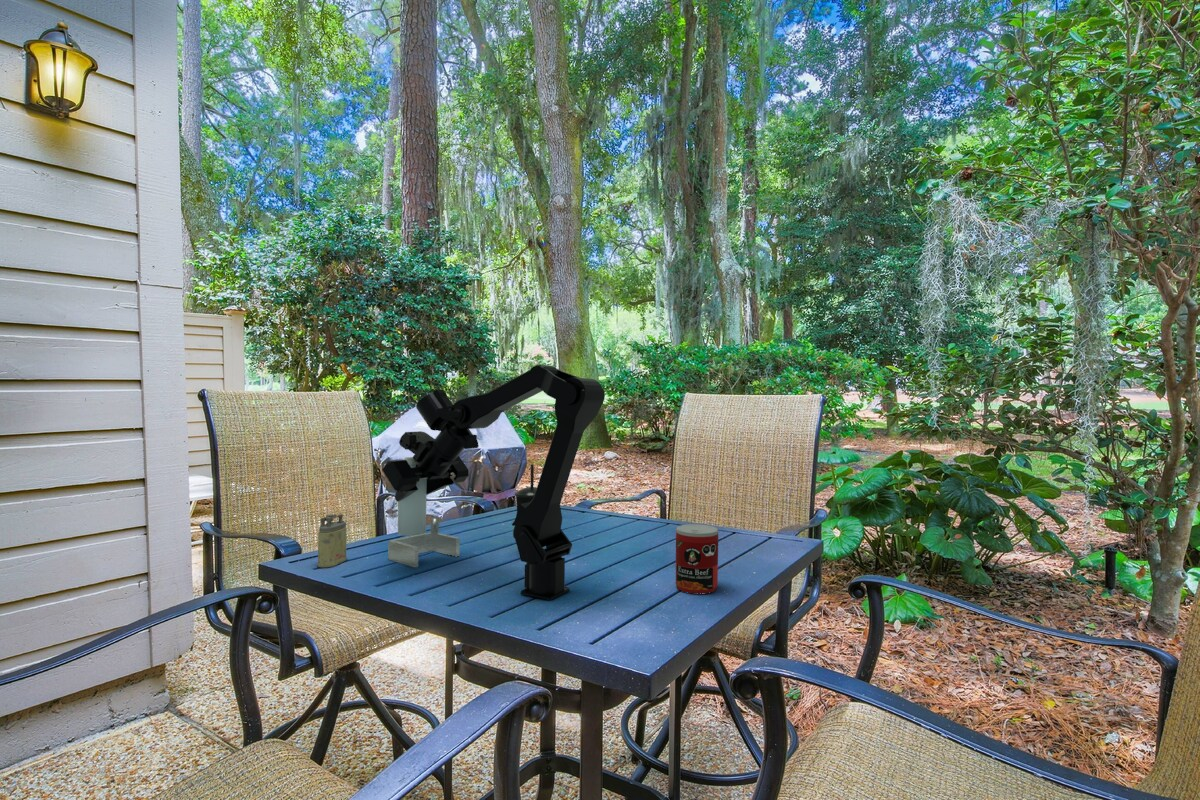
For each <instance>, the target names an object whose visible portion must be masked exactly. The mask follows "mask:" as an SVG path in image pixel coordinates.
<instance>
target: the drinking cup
mask: <svg viewBox="0 0 1200 800" xmlns="http://www.w3.org/2000/svg"><path fill="white" fill-rule="evenodd" d="M534 466H535V464H533V463H531V464H530V487H529V486H528V487H524V488H521V489H520V490H518V491H516V492H514V497H515V503H516V510H517V509H518V507H519V505H520V504H524V503H529V502H531V501H532V500H533V498H534V495H535V492H536V489H537V487H536V486H534V485H535V484H534V483H535V481H534V474H535V472H534V469H535V467H534Z"/></svg>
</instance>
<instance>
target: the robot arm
mask: <svg viewBox="0 0 1200 800" xmlns="http://www.w3.org/2000/svg"><path fill="white" fill-rule="evenodd" d="M541 392H543V393H544V394H545V395H546V396H548V397H550V398H552V399H554V402H555V403H554V414H555V419H556V426H555V428H554V429H555V430H554V432H553V436H552V439H551V442H550V445H549V449H548V451H547V455H546V458H545V461H544V463H543V467H542V471H541V473H540V474H541V475H540V476H539V480H538V483H537V489H536V492H535V495H534V498H533V500H532V501H531V502H529V503H524V504H520V505H519V507H518V509H517V508H516V515H515V518H514V521H513V522H512V523H511V526H513V531H512V535H513V536H512V537H513V538H514V540H515V544H516V547H517V552H518V555H519V558H520V561H521V562H522V563H523V562H524V563H525V564H524V585H523V586H524V589H521V590H520V595H524V596H528V597H529V596H530V597H533V598H537V599H543V600H546V601H551V600H554V599H555V598H558V597H559V596H561V595H563V594H565V593H567V592H569V591H570V587H569V586H565V585H566V584H565V582H566V581H565V579H566V576H565V575H566V574H565V573H566V572H565V571H566V568H565V567H566V564H565V563H566V558H565V557H564V556H569V555H570V553H571V550H572V548H573V547H572V546H573V543H572V542H571V540H570V539H569V537H568V536H567V535H566V534H565V532H564V531H563V530H562V523H563V513H562V509H561V502H562V498H563V496H564V493H565V489H566V487H567V484H568V481H569V479H570V475H571V471H572V469H573V467H574V466H573V465H574V462H575V459H576V456H577V454H578V450H579V447H580V443H581V441H582V438H583V434H584V432H585V431H586V429H587V428H588V427H589V426H590V425H591V423H592V422H593V421H594V420H595V419H596V418H597V416H598V414H599V411H600V409H601V408H602V406H603V404H604V402H605V397H606V394H605V393H606V392H605V390H604V387H603V385H602V384H601V383H600V382H599V380H596V379H595V378H589V377H579V376H577V375H574V374H571V373H567V372H565V371H563V370H561V369H558V368H556V367H555V366H553V365H545V364H536V365H534V366H532V367H531V368H530V369H529V370H527V371H526V372H524V373H522V374H520V375H518V376H516V377H514V378H513V379H511V380H509V381H507V382H504V383H503V384H501V385H499V386H497V387H496V388H494V389H492V390H490V391H488V392H485V393H481V394H478V395H471V396H468V397H464V398H460V399H458V400H456V401H455V402H454V403H453V402H452V401H451V400H450V398H449V397H448V395H447V393H446V391H445V389H441V388H435V389H434V390H433V392H429V394H426V395H424V396H423V397H422V398H420V399H418V401H417V403H416V405H415V408H416V409H417V412H418V413H419V415H420V416H421V417H422V419H423V421H425V424H426V425H427V426H428V428H429V429H430V430H431V431H435V432H436V431H438V432H439V433H438V435H437V436H436V437H435V438H434V437H433V436H431V435H430V434H428V433H427V432H426V431H405V432H404V433H403V434H402V435H401V436H400V439H399V441H398V444H399V446H401V448H403V449H404V450H406V451H407V450H408V451H410V452H411V453H413V456H412V457H413V459H414V460H415V462H418V465H415V468H411V467H410V465H409V464H408V462H407V461H406V460H405V459H395V460H394V459H393V460H387V461H386V463H385V464H384V465H383V467H382V470H381V471H382V472H383V473H384V475H385V477H386V478H387V480H388V482H389V483H390V485H391V486H392V488H393V490H394V491H395V494H394V499H395V501H396V502H397V503H398V501H400V500H402V499H404V498H406V497H407V496H409V495H410V494H412V493H414V492H415V491H417V490H418V488H417V486H416V484H417V483H418V482H419V480H420V479H426V478H427V488H426V496H429V495H431V494H432V493H435V492H437V491H440V490H442V489H444V488H447V487H448V486H449V487H450V486H452V485H454V483H455V484H457V483H464V482H465V481H466V480H467V479H468V477H469V473H470V472H469V468H468V466H466V463H464V461H463V460H462V458H461V457H460V455H461V454H462V452H463V451H464V450H471V449H478V448H479V441H478V435H477V434H473V432H472V431H471V430H472V429H473V430H476V429H486V428H488V427H489V426H491V425H492V424H494V423H495V422H496V421H497V420H499V418H500V416H501V415H502V413H503V412H505V411H506V410H508V409H510V408H512V407H514V406H516V405H517V404H520V403H521V402H524V401H526V400H528V399H530V398H532V397H533V396H535V395H538V394H539V393H541ZM453 475H454V477H453ZM452 477H453V478H452ZM544 547H545V548H544Z"/></svg>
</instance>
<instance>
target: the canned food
mask: <svg viewBox="0 0 1200 800" xmlns="http://www.w3.org/2000/svg"><path fill="white" fill-rule="evenodd" d="M718 571H719V529H718V528H717V527H715V526H713V525H707V524H696V523H695V524H693V523H691V524H682V525H679V526H677V527H676V530H675V586H676V589H677V588H678V589H677V590H678V591H680V590H681V591H680V592H682V591H683V592H682V593H685V592H688V593H687V594H689V593H698V594H700V593H701V594H700V595H703V594H702V593H709V592H712V593H714V592H715V590H716V591H717V589H716V588H718V585H719V584H718V582H719V580H718V579H719V575H718V573H719V572H718ZM713 591H714V592H713ZM698 594H697V595H698ZM709 594H710V593H709Z"/></svg>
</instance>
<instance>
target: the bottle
mask: <svg viewBox="0 0 1200 800" xmlns="http://www.w3.org/2000/svg"><path fill="white" fill-rule="evenodd" d="M404 460H406V461H407V462H408V464H409V465H410V467H411V468H415V465H418V462H415V460H414V459H413V456H408V457H407V456H406V457H404ZM416 486H417V488H418V490H417V491H415V492H414V493H412V494H410V495H409V496H407V497H406V498H404V499H402V500H400V501H398V502H397V535H398V536H404V537H409V536H414V535H421V534H424V533H427V495H426V488H427V478H426V479H420V480H419V482H418V483H417V484H416Z"/></svg>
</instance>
